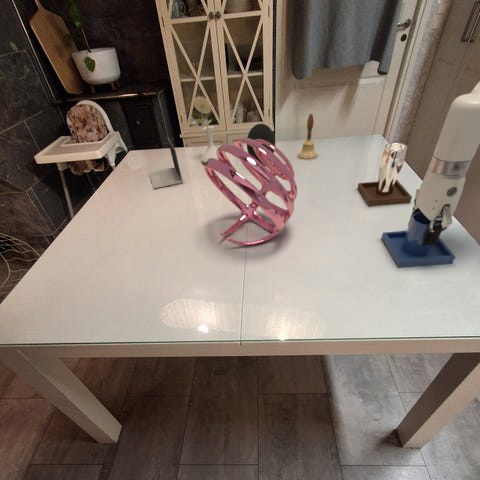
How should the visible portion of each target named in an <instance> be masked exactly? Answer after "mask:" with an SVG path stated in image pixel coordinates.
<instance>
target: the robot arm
mask: <svg viewBox="0 0 480 480" xmlns="http://www.w3.org/2000/svg"><path fill="white" fill-rule="evenodd" d="M479 146H480V80H479V81H478V82H477V84H476V85H475V86H474V87H473V89H472V90H471V91H470V93H465V94H461V95H459V96H457V97H456V98H455V99H454V100H453V101H452V103H451V105H450V107H449V110H448V112H447V115H446V118H445V120H444V123H443V126H442V129H441V131H440V133H439V137H438V140H437V142H436V145H435V148H434V151H433V154H432V157H431V159H430V162H429V165H428V167H427V170H426V172H425V175H424V178H423V180H422V182H421V184H420V187H419V188H418V189H416V190H415V197H414V199H413V202H414V206H413V207H412V213H411V215H410V218H409V221H408V223H407V227H408V226H409V223H410V221H411V218H412V215H413V214H415V213H417V212H422V213H423V214H424V215H425V216H426V217H427V218H428V219H429V220H430V230H427V232H426V235H425V237H424V240H423V242H422V244H423V245H434V244H436V242H437V240H438V238H440V236H441V233H442V232H444V231H445V230H447V229H448V228H449V227H451V226H452V224H453V216H454V215H455V214H454V213H455V211H456V210H457V206H458V204H459V201H460V198H461V196H462V193H463V190H464V187H465V183H466V175H467V173H468V170H469V168H470V167H471V163H472V161H473V159H474V157H475V155H476V153H477V150H478V148H479ZM438 215H439V216H440V218H435V217H437V216H438ZM435 221H439V225H437V226H435Z"/></svg>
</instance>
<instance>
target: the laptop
mask: <svg viewBox="0 0 480 480" xmlns="http://www.w3.org/2000/svg"><path fill="white" fill-rule="evenodd" d="M167 142H168V145H169V146H168V147H169V150H170V154H171V158H172V162H173V167H170V168H166V169H165V168H164V169H160V170H155V171H152V172H149V173H148V175H149V179H150V182H151V184H152V187H153V189H159V188H164V187H169V186H175V185H179V184H183V178H182V173H181V168H180V165H179V164H180V163H179V160H178V155H177V151H176V149H175V147H174V145H173V144H172V141H171V140H170V138H169V137H167Z"/></svg>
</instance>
